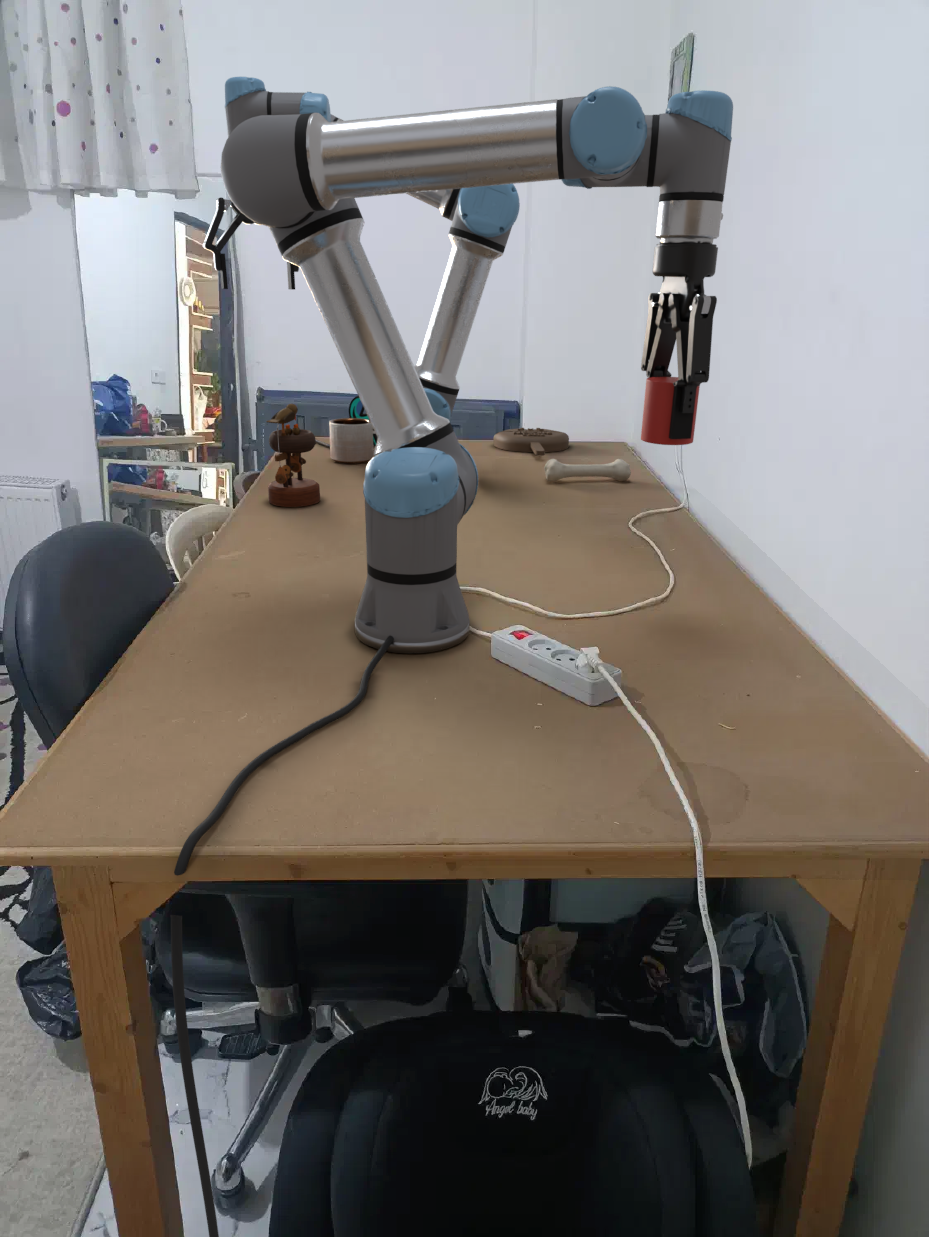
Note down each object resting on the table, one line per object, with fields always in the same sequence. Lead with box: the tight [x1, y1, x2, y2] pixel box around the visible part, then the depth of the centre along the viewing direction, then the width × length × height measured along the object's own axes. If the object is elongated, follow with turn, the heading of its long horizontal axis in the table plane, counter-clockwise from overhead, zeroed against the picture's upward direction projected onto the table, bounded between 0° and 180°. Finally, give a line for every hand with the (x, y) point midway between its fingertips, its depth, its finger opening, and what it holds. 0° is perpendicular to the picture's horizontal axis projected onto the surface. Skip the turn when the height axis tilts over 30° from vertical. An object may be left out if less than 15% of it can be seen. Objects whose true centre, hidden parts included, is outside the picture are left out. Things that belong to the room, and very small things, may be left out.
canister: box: [640, 376, 701, 446], centre depth 110 cm, size 7×7×8 cm
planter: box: [328, 417, 374, 464], centre depth 212 cm, size 11×11×10 cm
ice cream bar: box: [492, 427, 570, 457], centre depth 228 cm, size 21×28×4 cm
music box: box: [266, 403, 321, 508], centre depth 172 cm, size 15×11×20 cm
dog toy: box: [543, 458, 632, 482], centre depth 196 cm, size 20×6×5 cm, turn 99°
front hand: (666, 433), depth 111 cm, fingers closed on canister, 7 cm apart
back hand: (258, 289), depth 172 cm, fingers open, 13 cm apart
